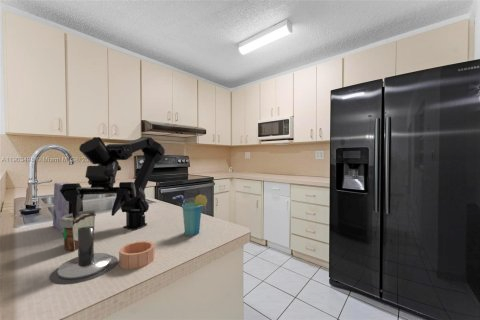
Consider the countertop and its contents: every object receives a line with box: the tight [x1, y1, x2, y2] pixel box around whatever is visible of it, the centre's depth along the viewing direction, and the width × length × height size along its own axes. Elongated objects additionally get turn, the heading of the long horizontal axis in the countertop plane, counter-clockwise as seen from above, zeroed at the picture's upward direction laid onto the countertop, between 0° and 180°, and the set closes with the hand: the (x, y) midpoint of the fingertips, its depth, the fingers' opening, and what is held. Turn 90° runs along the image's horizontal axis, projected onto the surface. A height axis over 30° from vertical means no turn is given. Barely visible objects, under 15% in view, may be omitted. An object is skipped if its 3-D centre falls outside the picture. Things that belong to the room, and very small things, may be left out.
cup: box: [171, 194, 208, 236], centre depth 79 cm, size 14×8×15 cm, turn 136°
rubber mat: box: [48, 254, 119, 285], centre depth 54 cm, size 14×14×1 cm
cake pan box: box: [52, 181, 84, 233], centre depth 82 cm, size 19×5×18 cm, turn 54°
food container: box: [59, 210, 97, 252], centre depth 68 cm, size 12×6×10 cm, turn 5°
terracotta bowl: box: [118, 240, 156, 270], centre depth 58 cm, size 8×8×4 cm
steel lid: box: [57, 226, 112, 280], centre depth 54 cm, size 11×11×10 cm
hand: (93, 216), depth 59 cm, fingers open, 9 cm apart
